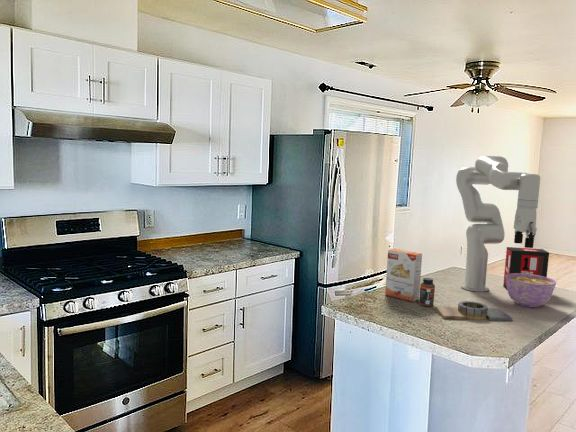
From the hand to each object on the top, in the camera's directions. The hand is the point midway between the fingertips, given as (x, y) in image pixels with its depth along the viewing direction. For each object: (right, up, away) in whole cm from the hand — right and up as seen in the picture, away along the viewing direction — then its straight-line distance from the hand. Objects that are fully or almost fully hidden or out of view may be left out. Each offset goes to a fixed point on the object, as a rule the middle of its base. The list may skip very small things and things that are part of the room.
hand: (523, 245), depth 202 cm
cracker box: (-46, -24, +16) cm, 55 cm away
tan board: (-27, -27, -6) cm, 39 cm away
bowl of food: (+8, -27, +12) cm, 30 cm away
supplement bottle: (-38, -26, +6) cm, 47 cm away
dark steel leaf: (-19, -28, -5) cm, 34 cm away
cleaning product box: (+17, -24, +36) cm, 47 cm away
